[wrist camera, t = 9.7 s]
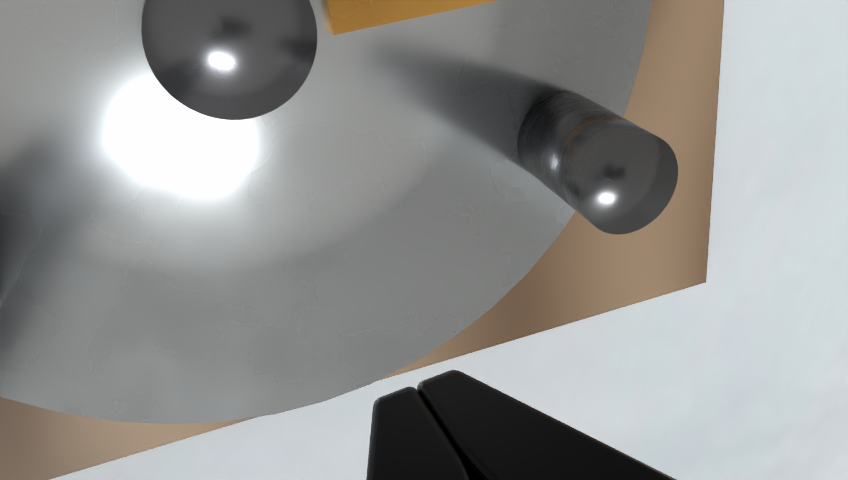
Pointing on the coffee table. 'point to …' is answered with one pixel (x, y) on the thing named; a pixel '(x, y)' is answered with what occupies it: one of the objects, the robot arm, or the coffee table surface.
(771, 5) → the coffee table surface
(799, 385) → the coffee table surface
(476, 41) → the capstan dial
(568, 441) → the robot arm
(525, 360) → the coffee table surface
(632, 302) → the stand board
